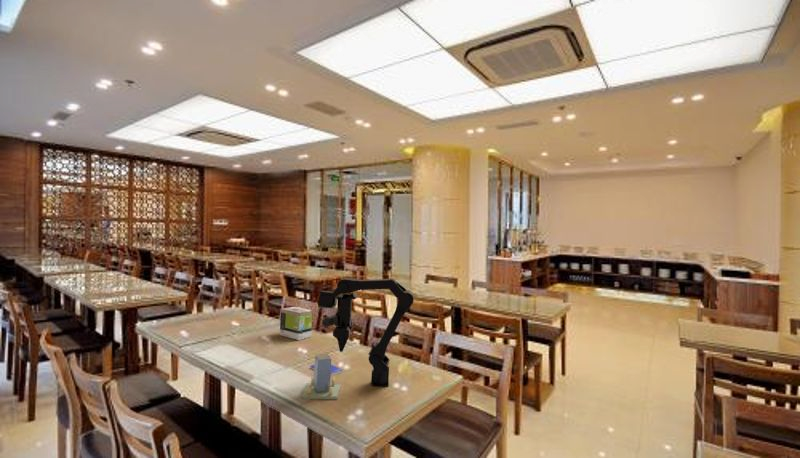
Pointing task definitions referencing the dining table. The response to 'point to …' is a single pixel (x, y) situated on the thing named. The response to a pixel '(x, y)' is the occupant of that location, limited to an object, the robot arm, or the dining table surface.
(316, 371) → the block
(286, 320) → the tea box
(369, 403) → the dining table surface
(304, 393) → the chassis
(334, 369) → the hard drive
